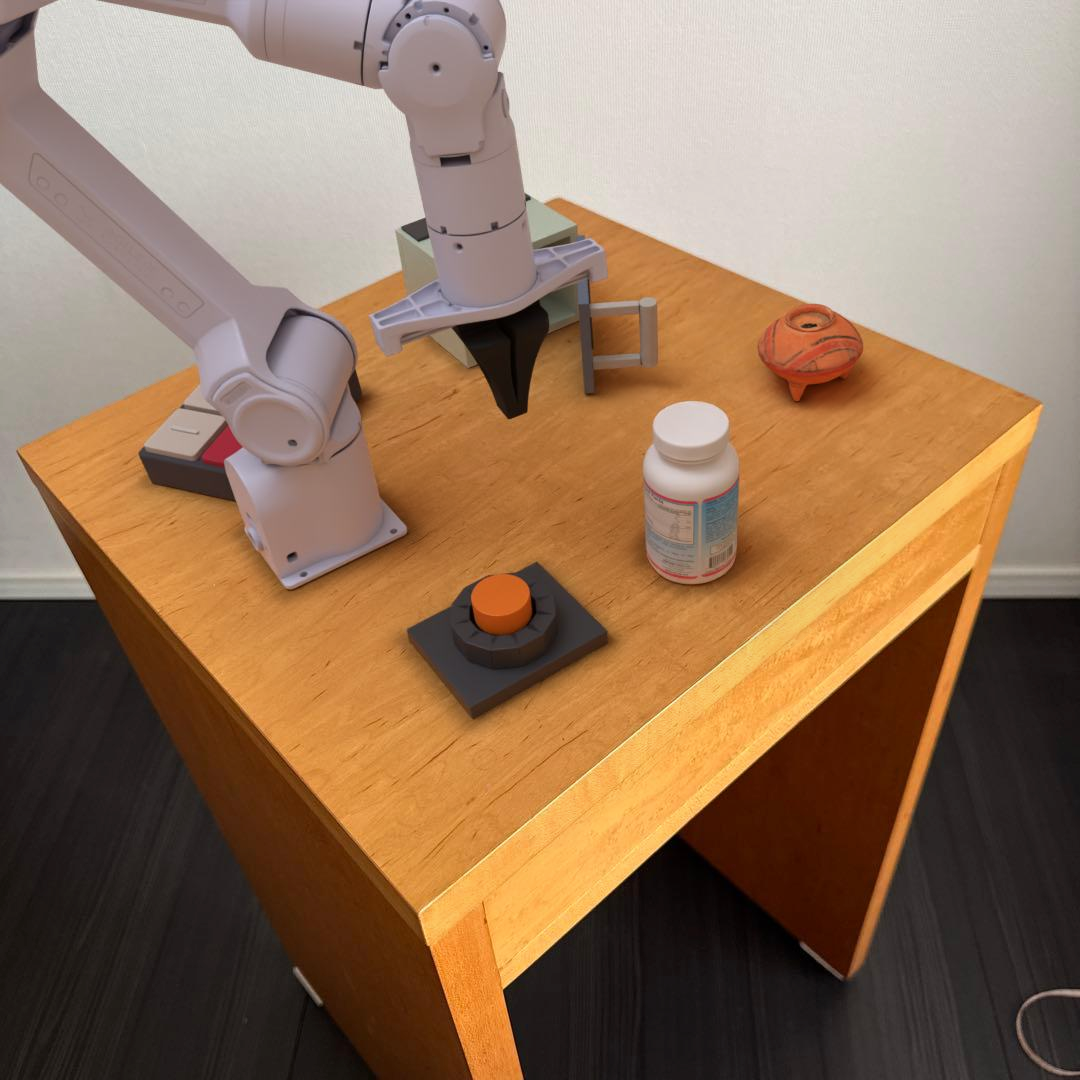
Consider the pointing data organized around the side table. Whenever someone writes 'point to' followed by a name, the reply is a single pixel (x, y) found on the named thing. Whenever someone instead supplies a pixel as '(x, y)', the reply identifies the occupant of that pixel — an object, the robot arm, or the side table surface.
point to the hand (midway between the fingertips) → (512, 408)
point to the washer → (544, 233)
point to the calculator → (198, 447)
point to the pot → (810, 346)
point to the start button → (501, 604)
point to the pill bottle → (691, 494)
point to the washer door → (588, 310)
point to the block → (506, 644)
